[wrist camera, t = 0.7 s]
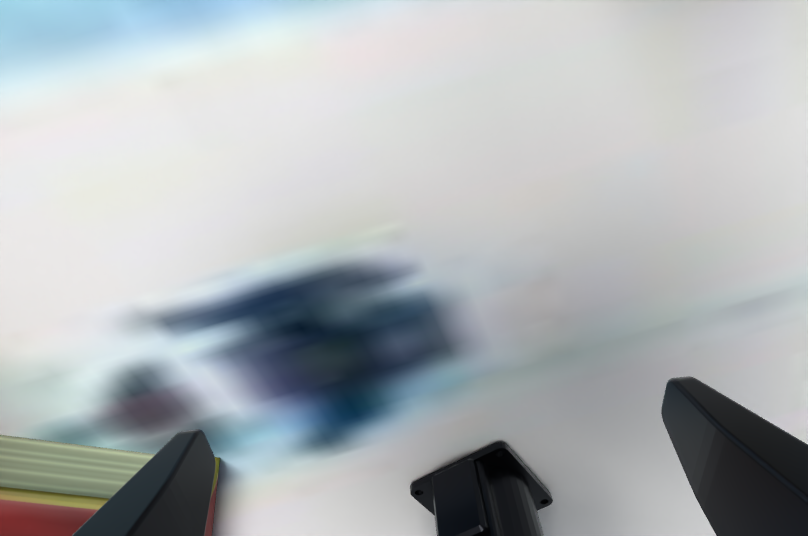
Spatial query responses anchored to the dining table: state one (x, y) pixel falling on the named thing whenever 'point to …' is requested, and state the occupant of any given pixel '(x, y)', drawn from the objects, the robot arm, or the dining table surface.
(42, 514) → the hardcover book
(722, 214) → the dining table surface
